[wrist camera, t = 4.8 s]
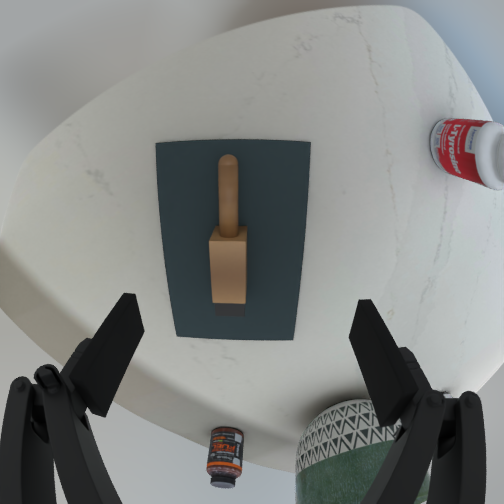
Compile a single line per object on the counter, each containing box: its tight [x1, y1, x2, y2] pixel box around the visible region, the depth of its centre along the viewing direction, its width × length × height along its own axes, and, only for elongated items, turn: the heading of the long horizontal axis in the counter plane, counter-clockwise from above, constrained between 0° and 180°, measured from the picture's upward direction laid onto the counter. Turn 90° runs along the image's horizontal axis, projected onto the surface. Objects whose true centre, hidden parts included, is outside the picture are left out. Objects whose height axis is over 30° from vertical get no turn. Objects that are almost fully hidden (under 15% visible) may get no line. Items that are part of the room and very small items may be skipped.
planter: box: [296, 399, 430, 504], centre depth 29 cm, size 20×20×21 cm
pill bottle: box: [430, 119, 504, 190], centre depth 17 cm, size 6×6×11 cm
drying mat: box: [156, 139, 311, 340], centre depth 27 cm, size 22×14×1 cm, turn 179°
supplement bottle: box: [207, 428, 244, 488], centre depth 37 cm, size 6×6×11 cm
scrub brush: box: [209, 154, 247, 317], centre depth 24 cm, size 15×3×4 cm, turn 179°
